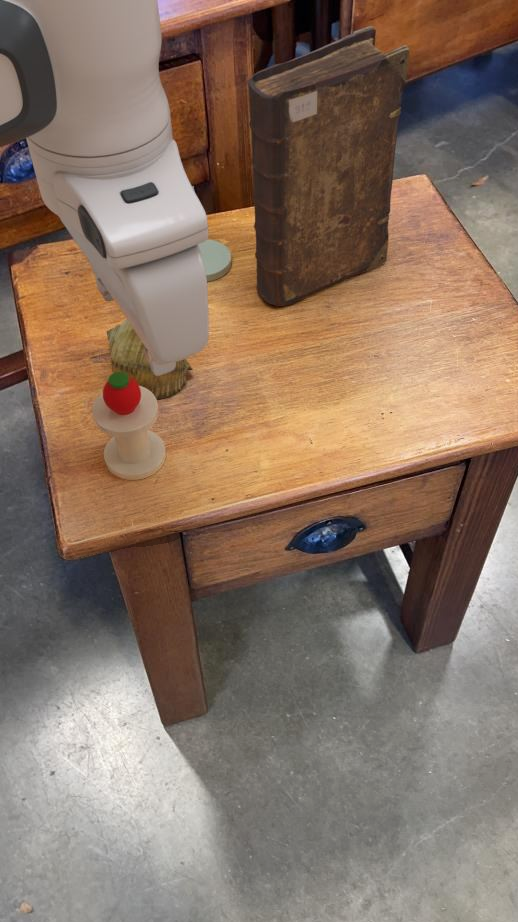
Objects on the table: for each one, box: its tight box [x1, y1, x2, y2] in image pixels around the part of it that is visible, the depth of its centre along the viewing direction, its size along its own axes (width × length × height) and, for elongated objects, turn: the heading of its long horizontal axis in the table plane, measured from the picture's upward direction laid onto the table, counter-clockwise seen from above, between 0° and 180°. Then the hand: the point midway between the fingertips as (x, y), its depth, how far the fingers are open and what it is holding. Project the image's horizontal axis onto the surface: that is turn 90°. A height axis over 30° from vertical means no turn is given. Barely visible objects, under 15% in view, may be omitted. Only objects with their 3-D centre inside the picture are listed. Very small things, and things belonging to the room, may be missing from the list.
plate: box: [198, 238, 233, 283], centre depth 99 cm, size 7×7×1 cm
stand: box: [91, 386, 167, 481], centre depth 79 cm, size 6×6×7 cm
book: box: [247, 25, 410, 307], centre depth 88 cm, size 17×7×25 cm, turn 121°
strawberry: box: [102, 372, 141, 415], centre depth 74 cm, size 3×3×4 cm
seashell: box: [106, 318, 193, 400], centre depth 87 cm, size 10×7×8 cm
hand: (136, 329), depth 64 cm, fingers open, 8 cm apart
